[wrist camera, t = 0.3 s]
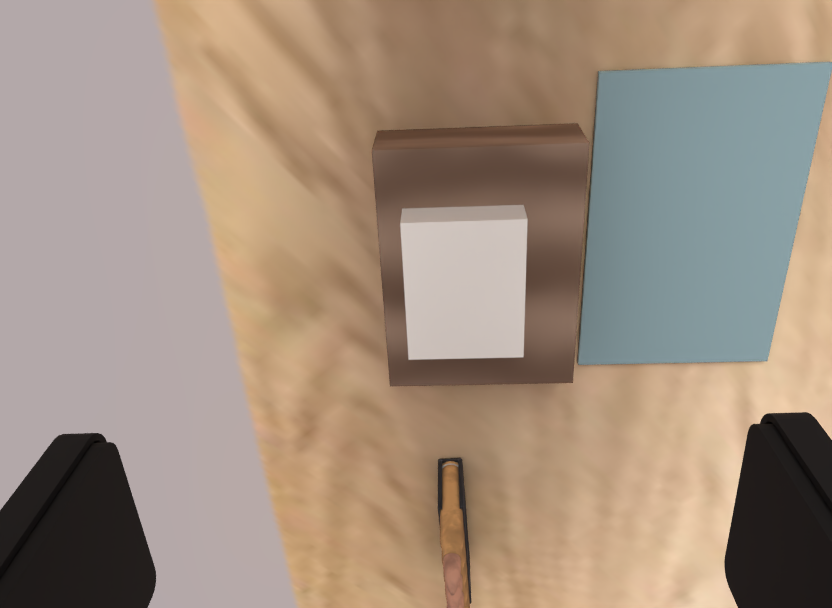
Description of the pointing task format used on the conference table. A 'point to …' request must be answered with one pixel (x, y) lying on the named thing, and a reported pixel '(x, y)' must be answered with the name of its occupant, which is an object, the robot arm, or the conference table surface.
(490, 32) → the conference table surface
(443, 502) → the ammunition clip
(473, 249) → the white rectangular block
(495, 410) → the conference table surface
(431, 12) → the conference table surface
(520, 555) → the conference table surface
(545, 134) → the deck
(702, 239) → the mat
